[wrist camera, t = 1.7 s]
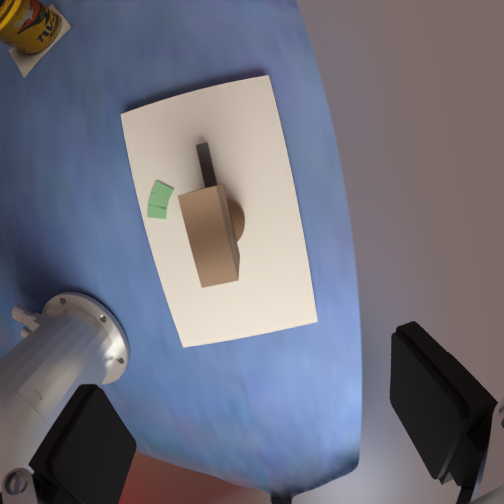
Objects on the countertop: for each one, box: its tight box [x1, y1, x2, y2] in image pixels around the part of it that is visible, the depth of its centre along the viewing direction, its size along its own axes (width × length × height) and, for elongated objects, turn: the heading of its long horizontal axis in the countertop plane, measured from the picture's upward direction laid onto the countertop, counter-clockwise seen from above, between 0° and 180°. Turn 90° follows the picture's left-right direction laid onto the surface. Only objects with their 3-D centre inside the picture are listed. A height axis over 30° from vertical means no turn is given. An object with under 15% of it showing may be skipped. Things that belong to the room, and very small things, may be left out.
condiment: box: [0, 0, 71, 78], centre depth 16 cm, size 7×8×12 cm
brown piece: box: [178, 142, 245, 288], centre depth 22 cm, size 10×4×8 cm, turn 12°
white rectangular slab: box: [121, 75, 317, 347], centre depth 27 cm, size 24×14×2 cm, turn 12°
